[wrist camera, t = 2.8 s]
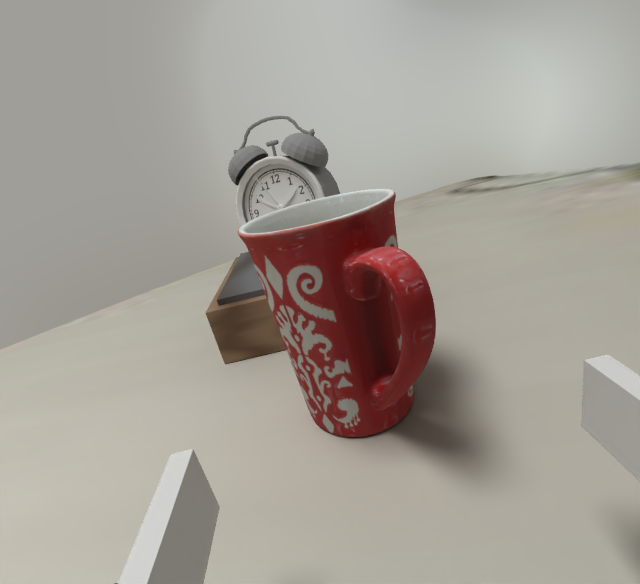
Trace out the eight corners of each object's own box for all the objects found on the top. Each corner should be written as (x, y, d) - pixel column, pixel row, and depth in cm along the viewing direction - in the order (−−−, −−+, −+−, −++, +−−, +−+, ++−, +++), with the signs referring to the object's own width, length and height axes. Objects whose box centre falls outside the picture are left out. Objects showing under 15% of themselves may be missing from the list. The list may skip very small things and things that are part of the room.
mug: (279, 394, 28) (223, 223, 23) (379, 348, 31) (347, 187, 26) (362, 530, 17) (288, 257, 12) (505, 439, 20) (491, 187, 15)
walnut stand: (374, 264, 51) (366, 221, 49) (413, 319, 34) (403, 259, 32) (247, 294, 51) (234, 253, 49) (224, 363, 35) (203, 306, 32)
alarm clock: (248, 271, 62) (204, 132, 54) (272, 254, 69) (236, 129, 61) (339, 262, 55) (304, 102, 47) (355, 244, 63) (327, 102, 55)
